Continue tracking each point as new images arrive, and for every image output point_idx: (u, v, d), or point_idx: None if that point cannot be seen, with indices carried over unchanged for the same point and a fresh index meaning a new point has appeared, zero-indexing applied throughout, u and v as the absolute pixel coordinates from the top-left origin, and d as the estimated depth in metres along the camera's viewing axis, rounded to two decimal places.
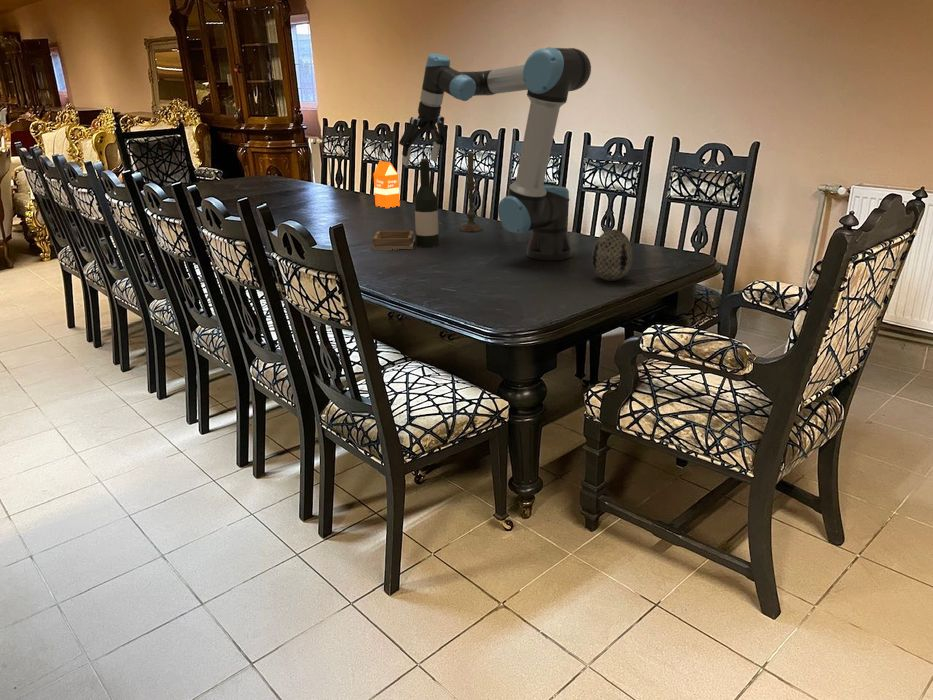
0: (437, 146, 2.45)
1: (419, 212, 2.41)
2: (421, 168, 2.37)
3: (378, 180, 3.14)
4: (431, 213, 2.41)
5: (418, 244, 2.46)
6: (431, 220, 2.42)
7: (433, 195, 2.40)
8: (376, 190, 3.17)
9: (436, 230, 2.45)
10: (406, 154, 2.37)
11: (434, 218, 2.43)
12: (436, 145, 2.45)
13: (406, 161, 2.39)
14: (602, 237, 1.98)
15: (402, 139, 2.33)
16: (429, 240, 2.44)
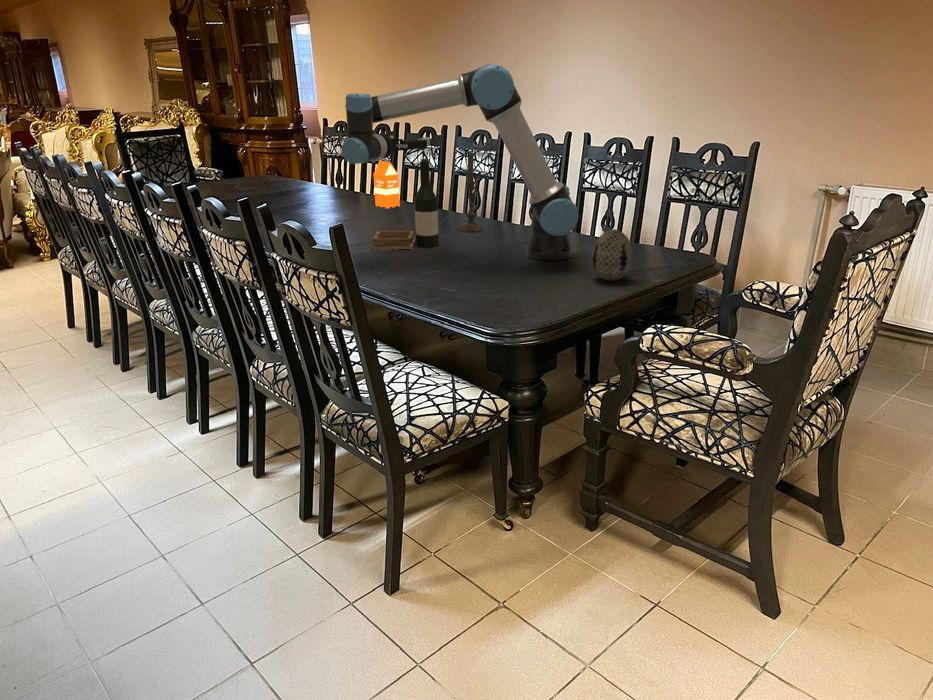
0: None
1: (419, 212, 2.41)
2: (421, 168, 2.37)
3: (378, 180, 3.14)
4: (431, 213, 2.41)
5: (418, 244, 2.46)
6: (431, 220, 2.42)
7: (433, 195, 2.40)
8: (376, 190, 3.17)
9: (436, 230, 2.45)
10: None
11: (434, 218, 2.43)
12: None
13: (427, 139, 2.27)
14: (602, 237, 1.98)
15: (423, 145, 2.20)
16: (429, 239, 2.44)
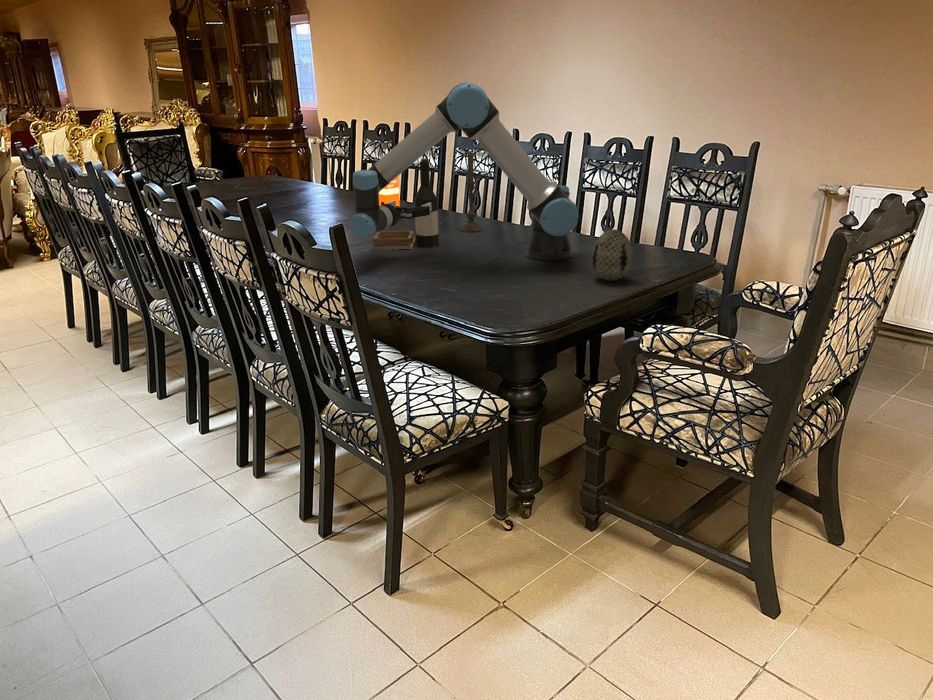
0: None
1: None
2: (421, 168, 2.37)
3: None
4: (431, 213, 2.41)
5: (418, 244, 2.46)
6: (431, 220, 2.42)
7: (433, 195, 2.40)
8: None
9: (436, 230, 2.45)
10: (427, 206, 2.33)
11: (434, 218, 2.43)
12: None
13: (429, 204, 2.35)
14: (602, 237, 1.98)
15: (426, 212, 2.28)
16: (429, 240, 2.44)
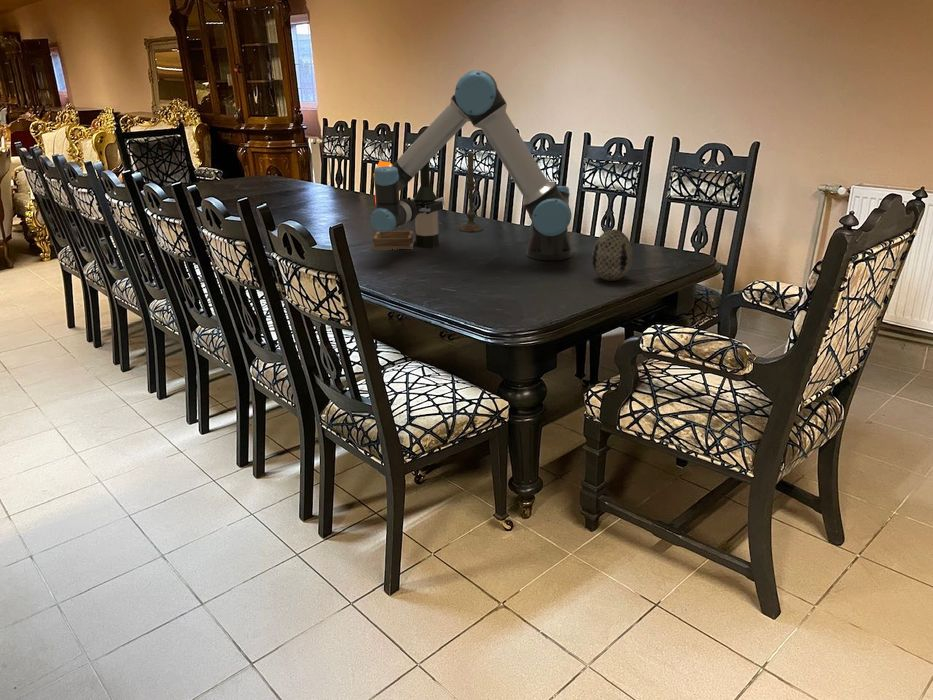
0: None
1: None
2: None
3: None
4: (431, 213, 2.41)
5: (418, 244, 2.46)
6: (431, 220, 2.42)
7: (433, 195, 2.40)
8: None
9: (436, 230, 2.45)
10: (440, 201, 2.41)
11: (434, 218, 2.43)
12: (414, 201, 2.43)
13: (441, 199, 2.43)
14: (602, 237, 1.98)
15: (440, 207, 2.37)
16: (429, 240, 2.44)
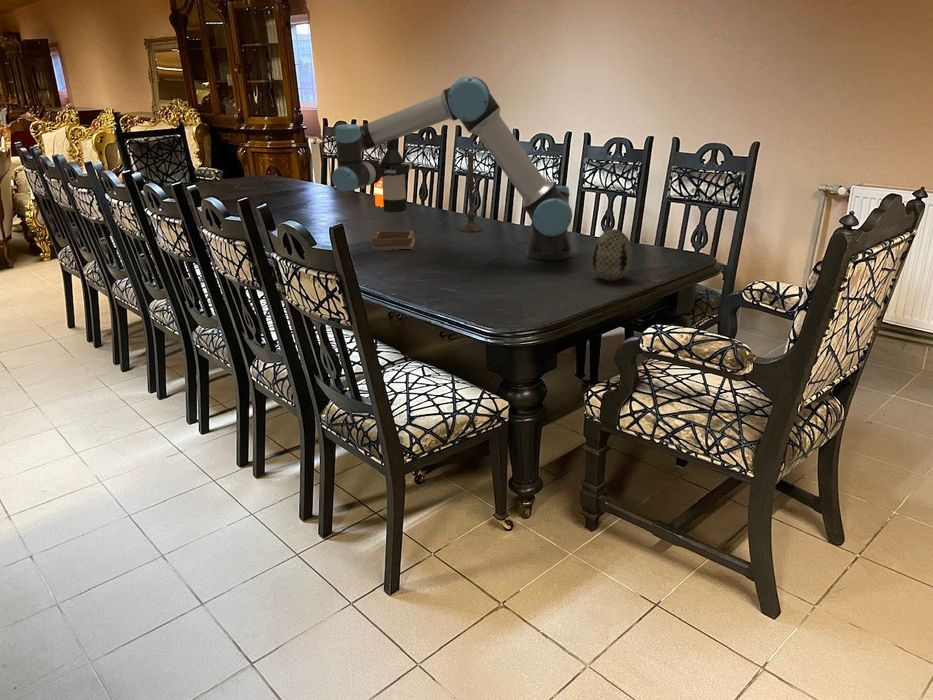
0: (380, 163, 2.38)
1: (386, 176, 2.36)
2: None
3: None
4: (398, 176, 2.36)
5: (385, 209, 2.41)
6: (398, 183, 2.37)
7: (400, 158, 2.36)
8: (376, 190, 3.17)
9: (403, 194, 2.40)
10: (407, 164, 2.37)
11: (401, 182, 2.38)
12: (380, 165, 2.38)
13: (409, 163, 2.39)
14: (602, 237, 1.98)
15: (406, 169, 2.32)
16: (396, 204, 2.39)
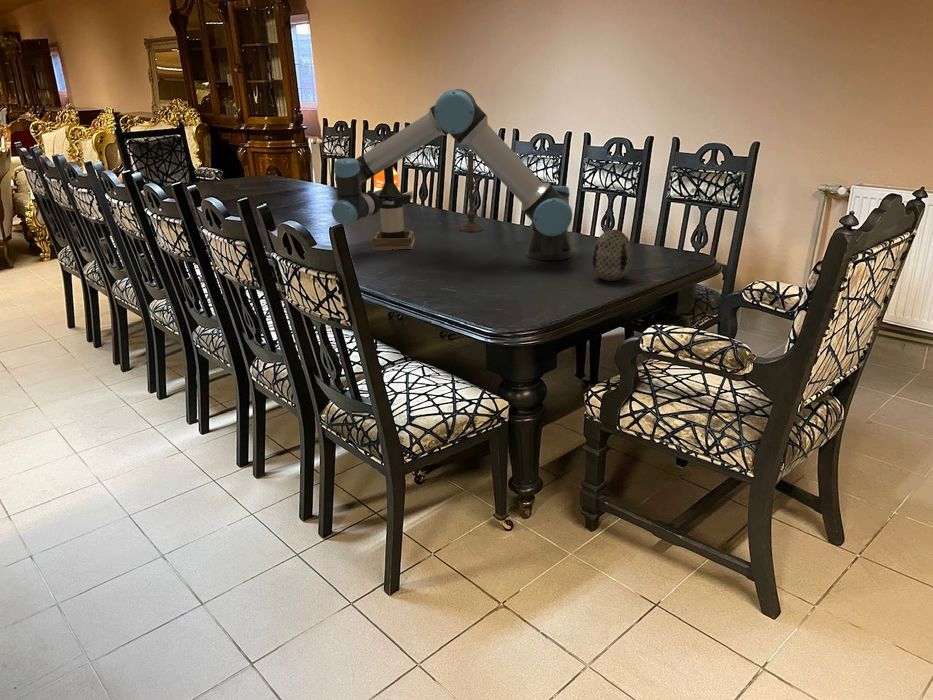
0: (374, 193, 2.42)
1: (384, 209, 2.41)
2: None
3: (378, 180, 3.14)
4: (396, 209, 2.40)
5: None
6: (396, 216, 2.41)
7: (397, 191, 2.40)
8: (376, 190, 3.17)
9: (402, 226, 2.44)
10: (408, 194, 2.39)
11: (399, 214, 2.42)
12: None
13: (410, 193, 2.41)
14: (602, 237, 1.98)
15: (407, 200, 2.34)
16: (395, 236, 2.44)
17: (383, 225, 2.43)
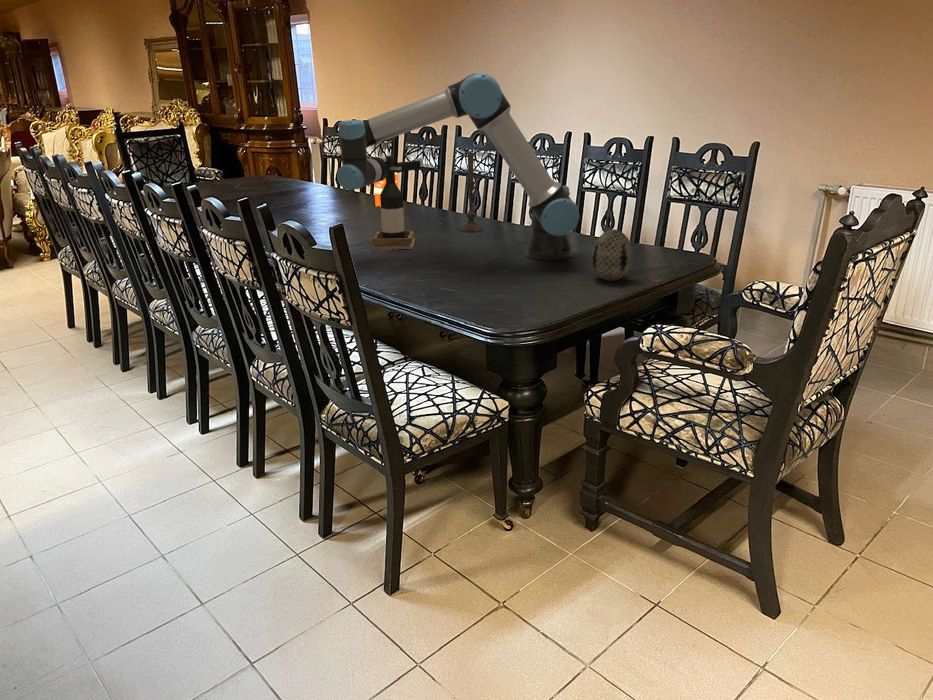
0: None
1: (384, 209, 2.41)
2: None
3: None
4: (396, 210, 2.40)
5: None
6: (396, 217, 2.41)
7: (398, 192, 2.40)
8: (376, 190, 3.17)
9: (402, 227, 2.44)
10: (417, 161, 2.26)
11: (400, 215, 2.42)
12: None
13: (419, 159, 2.29)
14: (602, 237, 1.98)
15: (416, 166, 2.22)
16: (395, 237, 2.44)
17: (383, 225, 2.43)
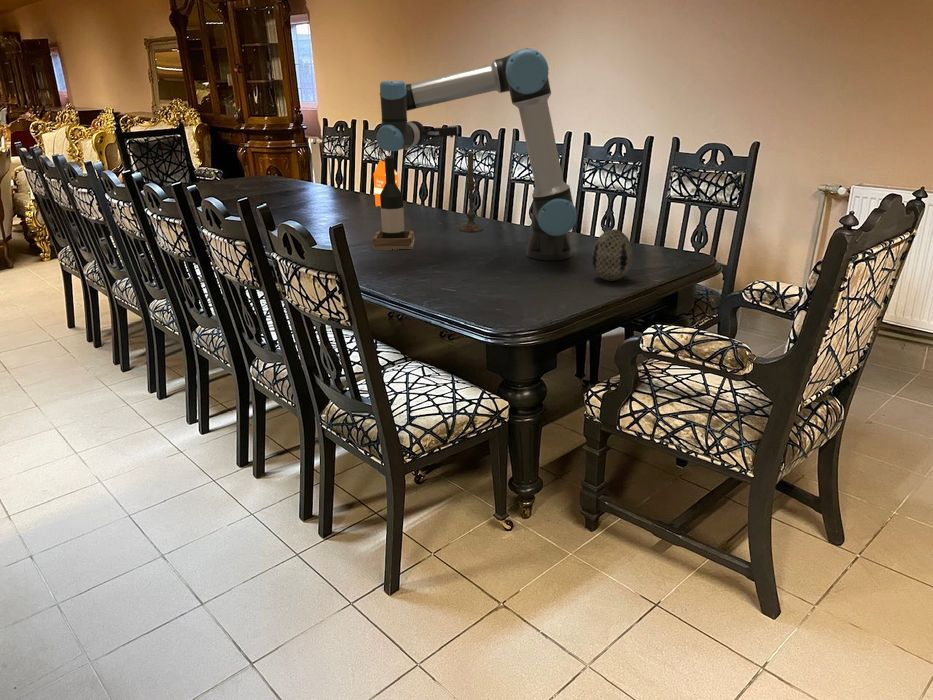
0: None
1: (384, 209, 2.41)
2: (386, 165, 2.37)
3: (378, 180, 3.14)
4: (396, 210, 2.40)
5: None
6: (396, 217, 2.41)
7: (398, 192, 2.40)
8: (376, 190, 3.17)
9: (402, 227, 2.44)
10: None
11: (400, 215, 2.42)
12: None
13: (456, 126, 2.27)
14: (602, 237, 1.98)
15: (453, 132, 2.20)
16: (395, 237, 2.44)
17: (383, 225, 2.43)
